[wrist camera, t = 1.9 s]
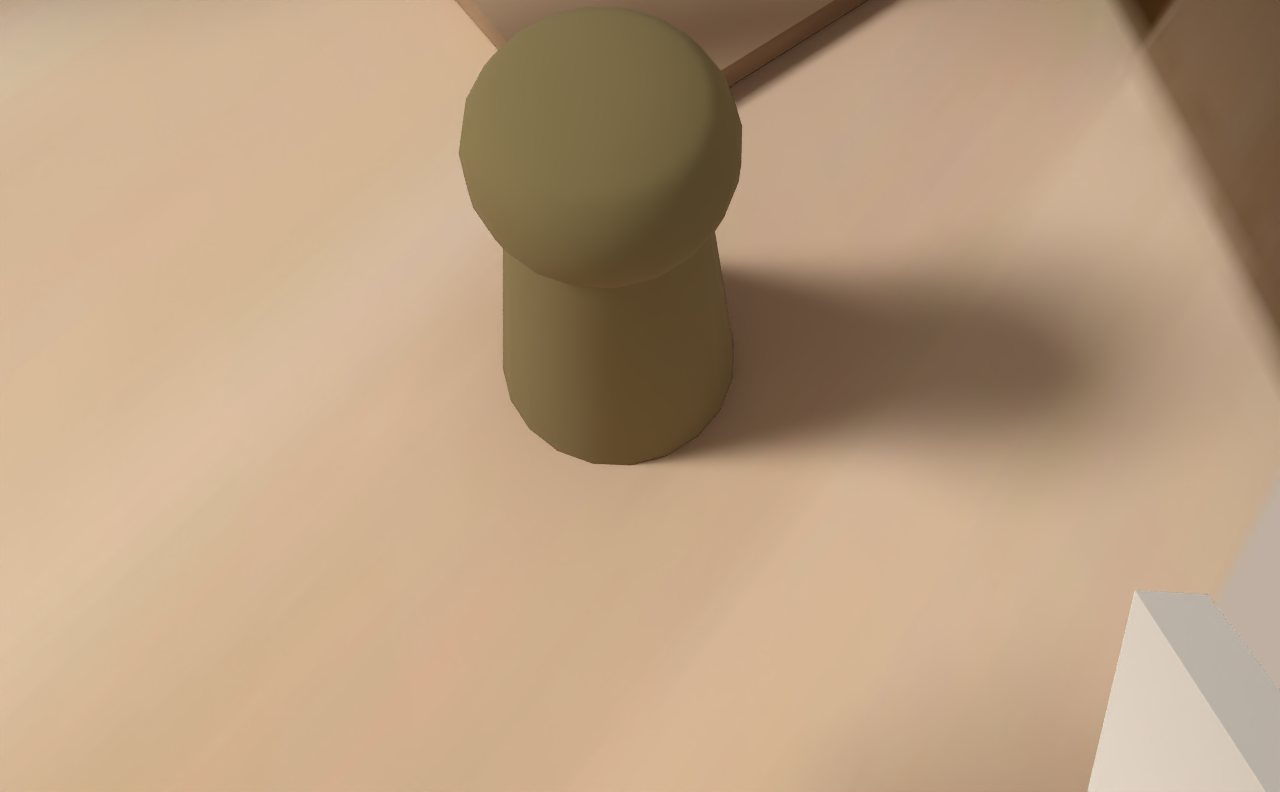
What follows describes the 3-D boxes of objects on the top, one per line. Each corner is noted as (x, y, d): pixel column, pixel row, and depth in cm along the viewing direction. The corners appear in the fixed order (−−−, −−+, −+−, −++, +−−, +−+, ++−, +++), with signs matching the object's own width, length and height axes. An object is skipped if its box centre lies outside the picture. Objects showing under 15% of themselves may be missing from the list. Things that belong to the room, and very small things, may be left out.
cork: (718, 244, 31) (747, -64, 20) (749, 452, 28) (800, 222, 18) (496, 266, 30) (414, -33, 20) (510, 477, 28) (425, 260, 18)
